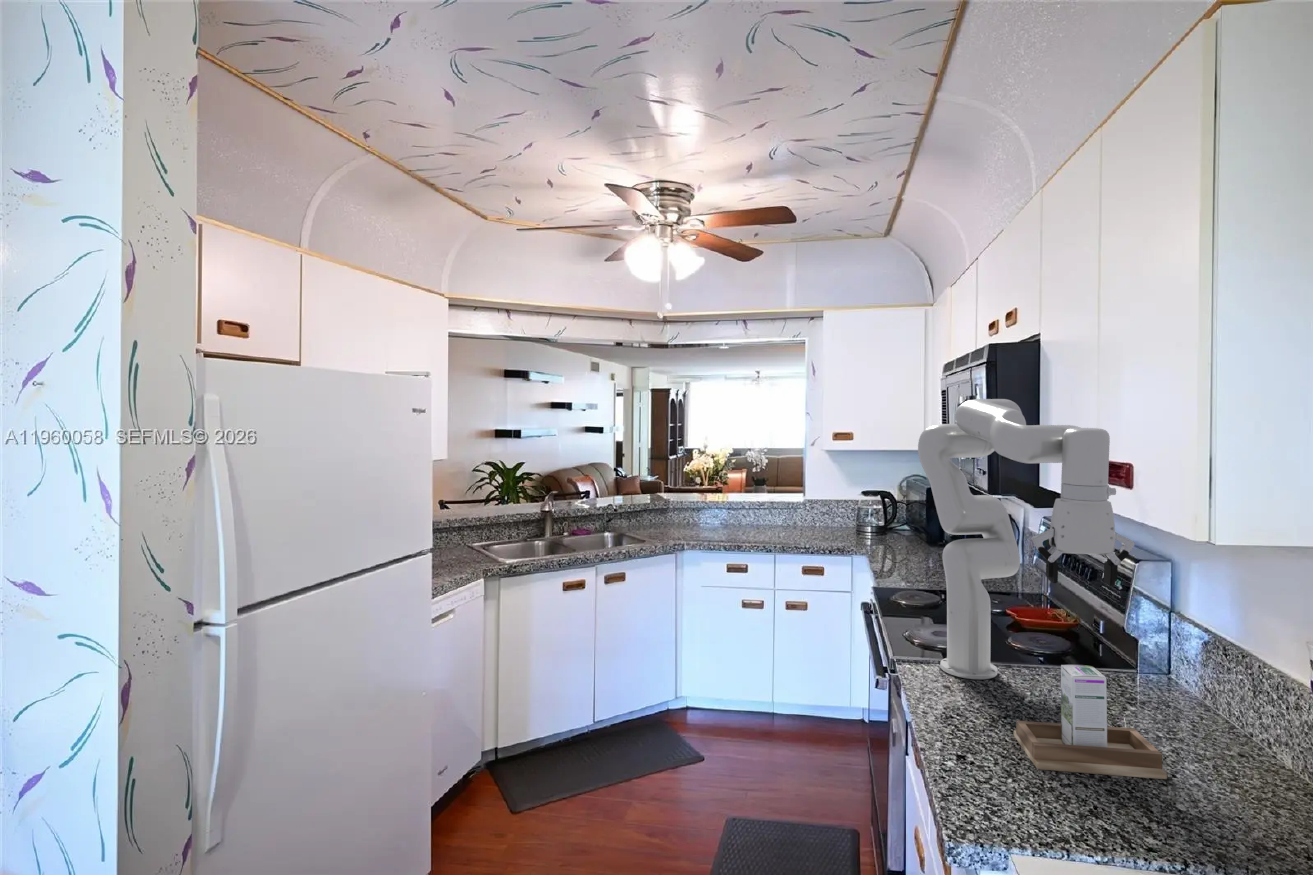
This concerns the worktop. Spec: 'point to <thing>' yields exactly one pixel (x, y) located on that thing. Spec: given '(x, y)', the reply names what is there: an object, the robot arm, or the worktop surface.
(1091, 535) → the robot arm
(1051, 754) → the brown wooden tray
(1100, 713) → the syrup box
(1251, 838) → the worktop surface
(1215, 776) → the worktop surface
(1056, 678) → the worktop surface
